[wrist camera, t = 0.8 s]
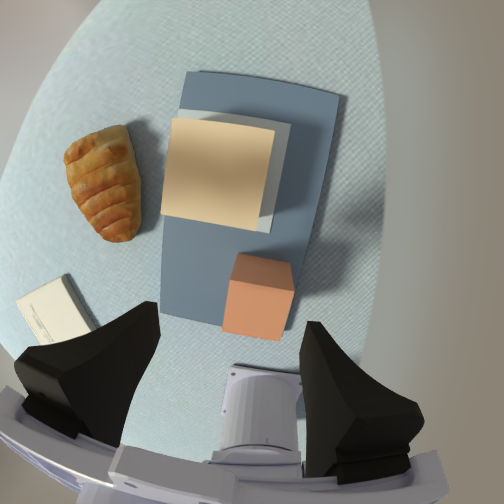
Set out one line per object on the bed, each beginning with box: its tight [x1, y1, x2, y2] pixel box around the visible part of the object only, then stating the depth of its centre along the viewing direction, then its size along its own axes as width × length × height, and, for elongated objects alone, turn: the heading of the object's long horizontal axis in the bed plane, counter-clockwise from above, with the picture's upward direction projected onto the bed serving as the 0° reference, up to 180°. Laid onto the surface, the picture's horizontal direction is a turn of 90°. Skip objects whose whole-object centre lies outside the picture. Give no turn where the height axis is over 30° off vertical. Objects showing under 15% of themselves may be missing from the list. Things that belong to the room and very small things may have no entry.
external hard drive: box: [16, 274, 97, 345], centre depth 26 cm, size 2×8×12 cm
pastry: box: [63, 125, 142, 243], centre depth 19 cm, size 9×7×4 cm
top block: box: [222, 253, 295, 341], centre depth 19 cm, size 4×4×4 cm
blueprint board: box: [160, 72, 340, 337], centre depth 20 cm, size 20×11×1 cm, turn 170°
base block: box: [161, 118, 275, 231], centre depth 17 cm, size 6×6×4 cm
